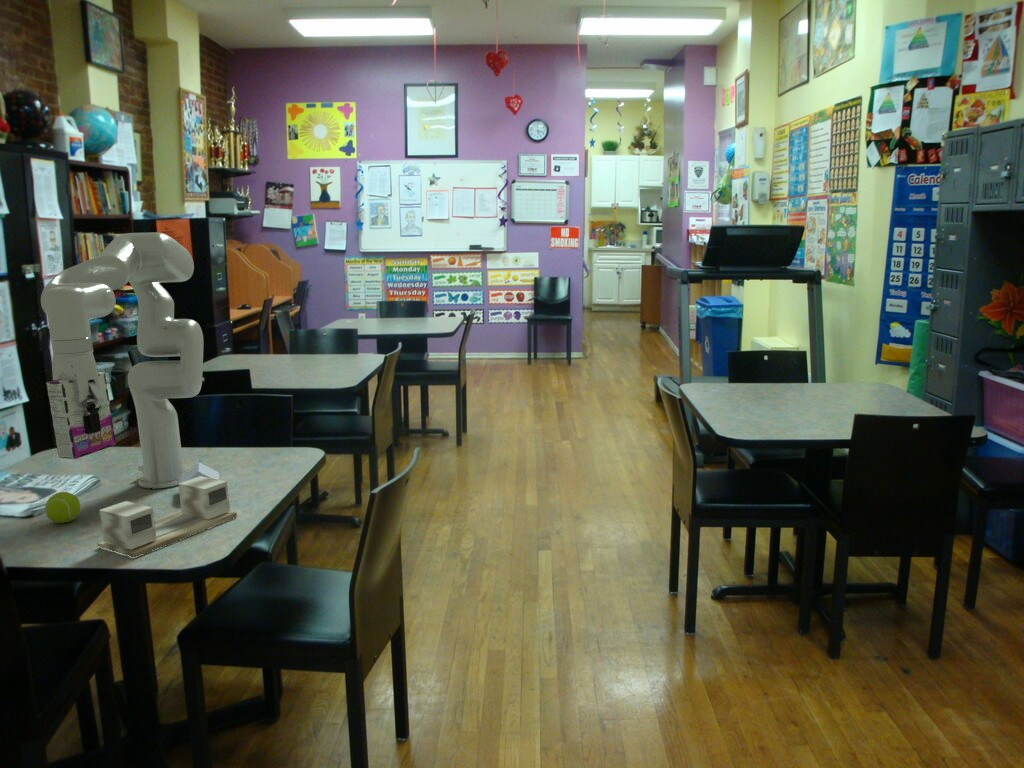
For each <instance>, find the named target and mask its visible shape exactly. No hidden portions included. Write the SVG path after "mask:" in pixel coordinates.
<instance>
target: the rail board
mask: <svg viewBox="0 0 1024 768" xmlns="http://www.w3.org/2000/svg"><path fill="white" fill-rule="evenodd" d="M177 486H178V493H179V500H180V501H179V502H180V509H181V511H180V512H178V513H175V514H172V515H170V516H166V517H164V518H162V519H159V520H156V521H155V514H154V508H153V507H152V506H147V505H143V504H139V503H135V502H131V501H127V500H125V501H122V502H119V503H116V504H113V505H110V506H107V507H104V508H100V509H99V510H98V511H99V518H100V524H101V525H100V526H101V531H102V532H101V533H102V539H103V540H102V541H99V542H97V547H98V546H100V547H102V548H106V549H109V550H112V551H116V552H119V553H122V554H125V555H129V556H131V557H136V556H139V555H141V554H145V553H147V552H150V551H152V550H155V549H157V548H160V547H163V546H165V545H168V544H170V545H172V544H171V543H173V542H175V543H177V542H176V541H178V540H180V539H183V538H185V537H188V536H190V535H192V534H195V533H197V532H200V531H203V530H205V529H208V528H210V527H213V526H215V527H217V526H216V525H218V526H220V525H222V524H221V523H223V522H225V523H227V522H229V521H228V520H230V521H232V520H234V519H233V518H235V519H237V518H238V513H237V512H236V511H232V510H231V507H230V506H231V505H230V497H229V486H228V481H227V480H224V479H223V480H221V479H219V480H218V479H213V478H208V477H203V476H199V477H196V478H193V479H190V480H187V481H184V482H181V483H178V485H177ZM236 517H237V518H236ZM231 519H232V520H231ZM226 521H227V522H226ZM219 524H220V525H219ZM223 524H224V523H223ZM213 528H214V527H213ZM210 529H211V528H210ZM208 530H209V529H208ZM205 531H206V530H205ZM203 532H204V531H203ZM200 533H201V532H200ZM195 535H196V534H195ZM190 537H191V536H190ZM188 538H189V537H188ZM185 539H186V538H185ZM183 540H184V539H183ZM180 541H181V540H180ZM178 542H179V541H178ZM173 544H174V543H173ZM168 546H169V545H168ZM165 547H166V546H165ZM163 548H164V547H163ZM160 549H161V548H160ZM155 551H156V550H155ZM150 553H151V552H150ZM145 555H146V554H145Z"/></svg>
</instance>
